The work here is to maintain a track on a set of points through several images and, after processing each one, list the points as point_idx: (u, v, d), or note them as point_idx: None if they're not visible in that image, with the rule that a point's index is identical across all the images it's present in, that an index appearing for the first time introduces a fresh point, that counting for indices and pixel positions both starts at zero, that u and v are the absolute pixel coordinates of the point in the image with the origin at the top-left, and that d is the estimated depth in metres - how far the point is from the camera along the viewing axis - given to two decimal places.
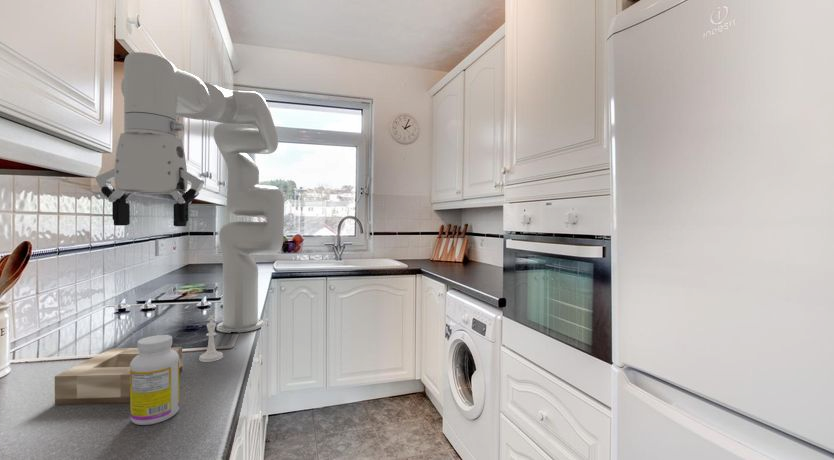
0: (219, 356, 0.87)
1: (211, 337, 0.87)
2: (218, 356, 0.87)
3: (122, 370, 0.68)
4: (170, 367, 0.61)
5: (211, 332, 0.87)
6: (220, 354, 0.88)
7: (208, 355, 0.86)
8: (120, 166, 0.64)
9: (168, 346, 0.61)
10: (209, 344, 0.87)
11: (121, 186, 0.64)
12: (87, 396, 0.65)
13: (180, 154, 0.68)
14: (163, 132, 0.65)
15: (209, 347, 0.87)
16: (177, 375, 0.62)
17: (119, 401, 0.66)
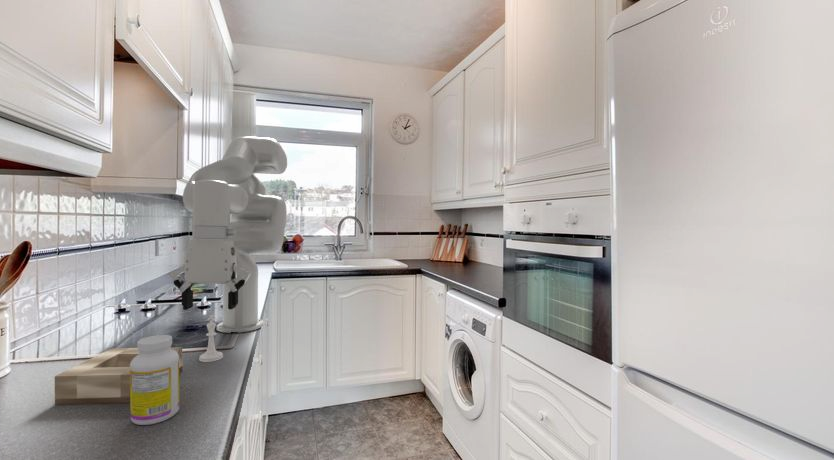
0: (219, 356, 0.87)
1: (211, 337, 0.87)
2: (218, 356, 0.87)
3: (122, 370, 0.68)
4: (170, 367, 0.61)
5: (211, 332, 0.87)
6: (220, 354, 0.88)
7: (208, 355, 0.86)
8: (189, 265, 0.84)
9: (168, 346, 0.61)
10: (209, 344, 0.87)
11: (189, 280, 0.84)
12: (87, 396, 0.65)
13: (232, 252, 0.88)
14: (221, 238, 0.85)
15: (209, 347, 0.87)
16: (177, 375, 0.62)
17: (119, 401, 0.66)
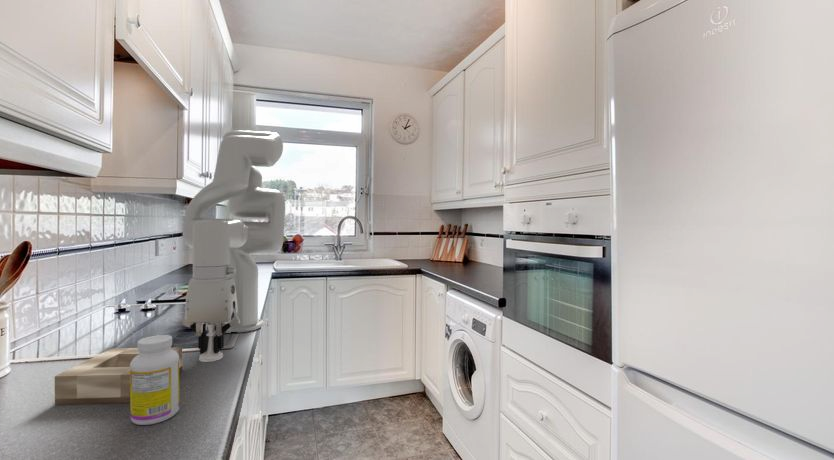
0: (219, 356, 0.87)
1: (211, 337, 0.87)
2: (218, 356, 0.87)
3: (122, 370, 0.68)
4: (170, 367, 0.61)
5: (211, 332, 0.87)
6: (220, 354, 0.88)
7: (208, 355, 0.86)
8: (189, 305, 0.85)
9: (168, 346, 0.61)
10: (209, 344, 0.87)
11: (190, 320, 0.85)
12: (87, 396, 0.65)
13: (232, 289, 0.89)
14: (222, 278, 0.85)
15: (209, 347, 0.87)
16: (177, 375, 0.62)
17: (119, 401, 0.66)
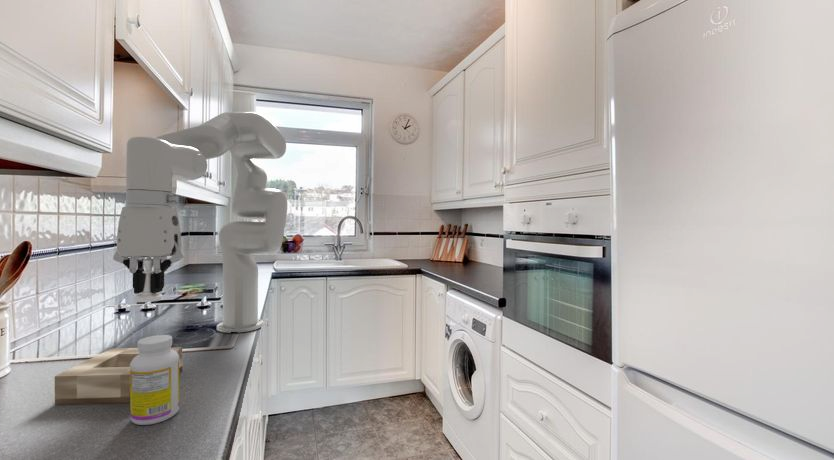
0: (157, 297, 0.75)
1: (148, 275, 0.75)
2: (156, 297, 0.75)
3: (122, 370, 0.68)
4: (170, 367, 0.61)
5: (148, 269, 0.75)
6: (159, 295, 0.76)
7: (144, 295, 0.74)
8: (121, 235, 0.73)
9: (168, 346, 0.61)
10: (146, 283, 0.75)
11: (122, 253, 0.73)
12: (87, 396, 0.65)
13: (175, 222, 0.77)
14: (160, 205, 0.74)
15: (146, 286, 0.75)
16: (177, 375, 0.62)
17: (119, 401, 0.66)
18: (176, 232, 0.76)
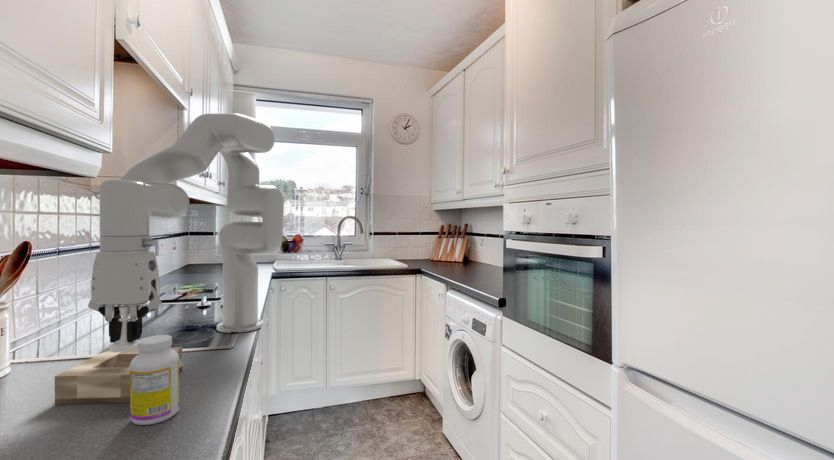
0: (134, 345, 0.72)
1: (125, 322, 0.72)
2: (134, 346, 0.72)
3: (122, 370, 0.68)
4: (170, 367, 0.61)
5: (125, 316, 0.72)
6: (136, 343, 0.73)
7: (120, 344, 0.71)
8: (95, 283, 0.70)
9: (168, 346, 0.61)
10: (122, 331, 0.72)
11: (97, 301, 0.70)
12: (87, 396, 0.65)
13: (152, 266, 0.74)
14: (136, 251, 0.70)
15: (122, 335, 0.72)
16: (177, 375, 0.62)
17: (119, 401, 0.66)
18: (153, 277, 0.73)
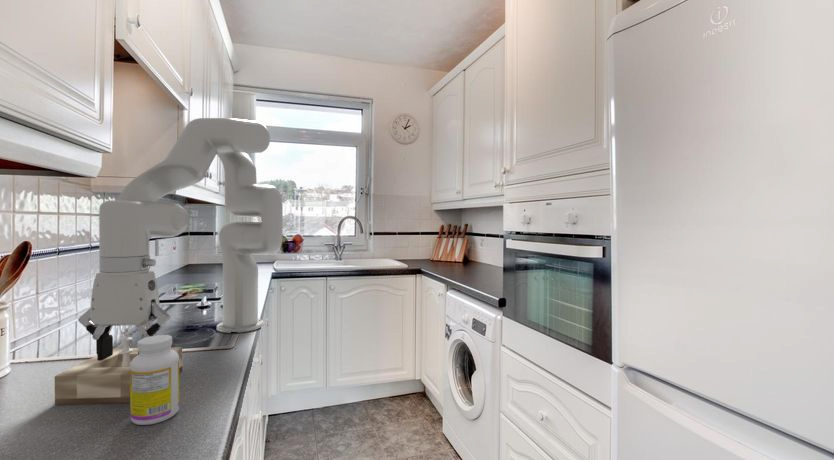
0: None
1: (125, 355, 0.72)
2: None
3: (122, 370, 0.68)
4: (170, 367, 0.61)
5: (125, 349, 0.72)
6: None
7: None
8: (95, 304, 0.70)
9: (168, 346, 0.61)
10: (123, 363, 0.72)
11: (96, 322, 0.70)
12: (87, 396, 0.65)
13: (152, 285, 0.74)
14: (135, 271, 0.70)
15: None
16: (177, 375, 0.62)
17: (119, 401, 0.66)
18: (153, 297, 0.73)
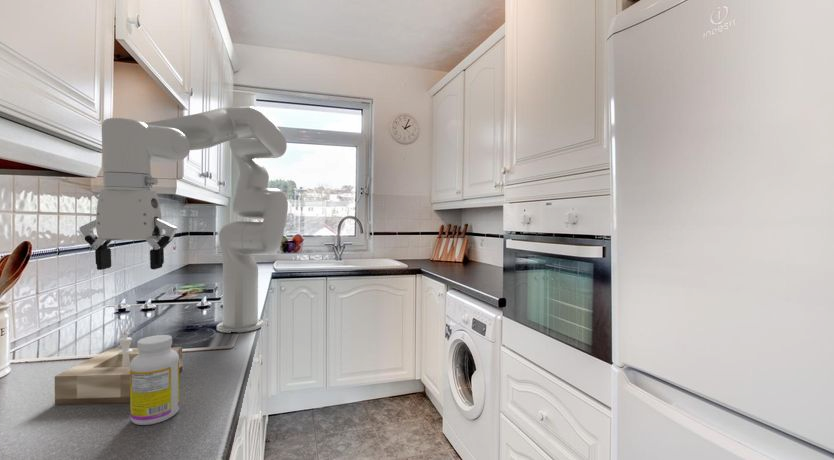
0: None
1: (125, 355, 0.72)
2: None
3: (122, 370, 0.68)
4: (170, 367, 0.61)
5: (125, 349, 0.72)
6: None
7: None
8: (100, 218, 0.72)
9: (168, 346, 0.61)
10: (122, 364, 0.72)
11: (102, 236, 0.73)
12: (87, 396, 0.65)
13: (155, 204, 0.77)
14: (138, 187, 0.73)
15: None
16: (177, 375, 0.62)
17: (119, 401, 0.66)
18: (156, 215, 0.76)
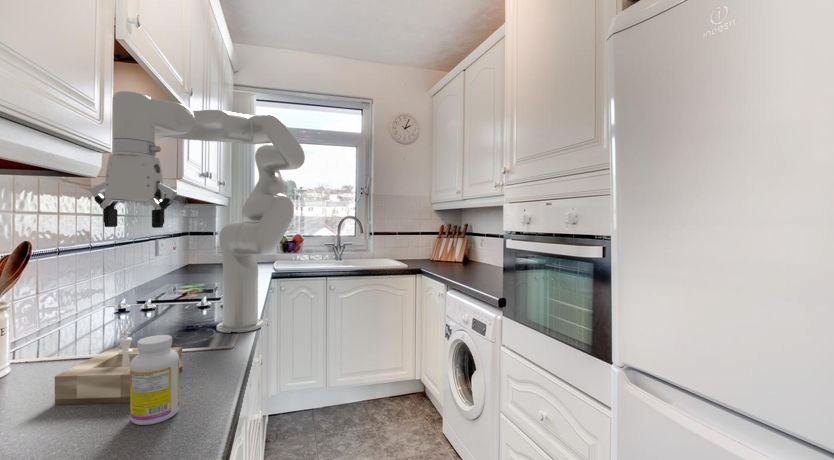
0: None
1: (125, 355, 0.72)
2: None
3: (122, 370, 0.68)
4: (170, 367, 0.61)
5: (125, 349, 0.72)
6: None
7: None
8: (109, 180, 0.81)
9: (168, 346, 0.61)
10: (122, 364, 0.72)
11: (110, 196, 0.81)
12: (87, 396, 0.65)
13: (157, 170, 0.85)
14: (143, 153, 0.82)
15: None
16: (177, 375, 0.62)
17: (119, 401, 0.66)
18: (158, 179, 0.84)
